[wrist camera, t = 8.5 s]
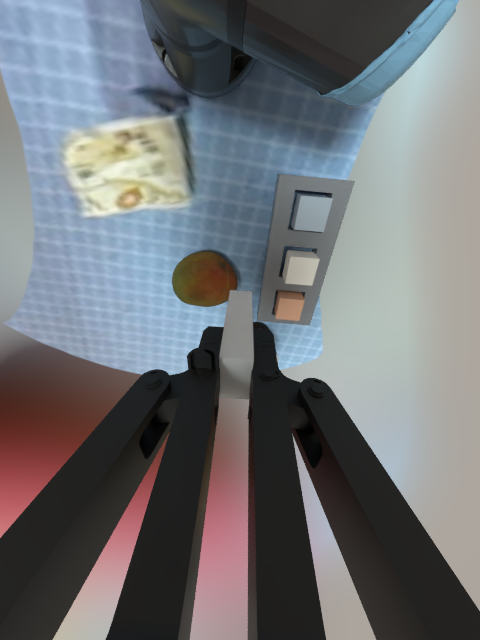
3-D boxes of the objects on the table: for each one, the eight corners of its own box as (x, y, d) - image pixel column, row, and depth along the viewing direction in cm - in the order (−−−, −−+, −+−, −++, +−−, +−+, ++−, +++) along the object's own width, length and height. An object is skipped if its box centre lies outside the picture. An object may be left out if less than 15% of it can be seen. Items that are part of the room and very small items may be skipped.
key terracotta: (277, 289, 47) (280, 298, 44) (300, 291, 47) (304, 300, 44) (273, 309, 50) (275, 318, 47) (295, 311, 50) (299, 320, 47)
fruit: (246, 273, 47) (246, 295, 39) (207, 307, 52) (200, 332, 44) (206, 232, 43) (196, 246, 34) (168, 273, 48) (151, 294, 39)
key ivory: (287, 249, 41) (290, 256, 38) (313, 252, 41) (319, 259, 38) (282, 275, 44) (285, 283, 40) (307, 277, 44) (312, 285, 40)
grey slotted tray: (277, 174, 37) (279, 174, 35) (347, 180, 37) (354, 181, 35) (257, 313, 53) (257, 320, 50) (306, 318, 53) (309, 325, 50)
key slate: (296, 193, 37) (301, 195, 34) (325, 196, 37) (332, 198, 34) (290, 224, 40) (294, 229, 37) (317, 227, 40) (323, 232, 37)
